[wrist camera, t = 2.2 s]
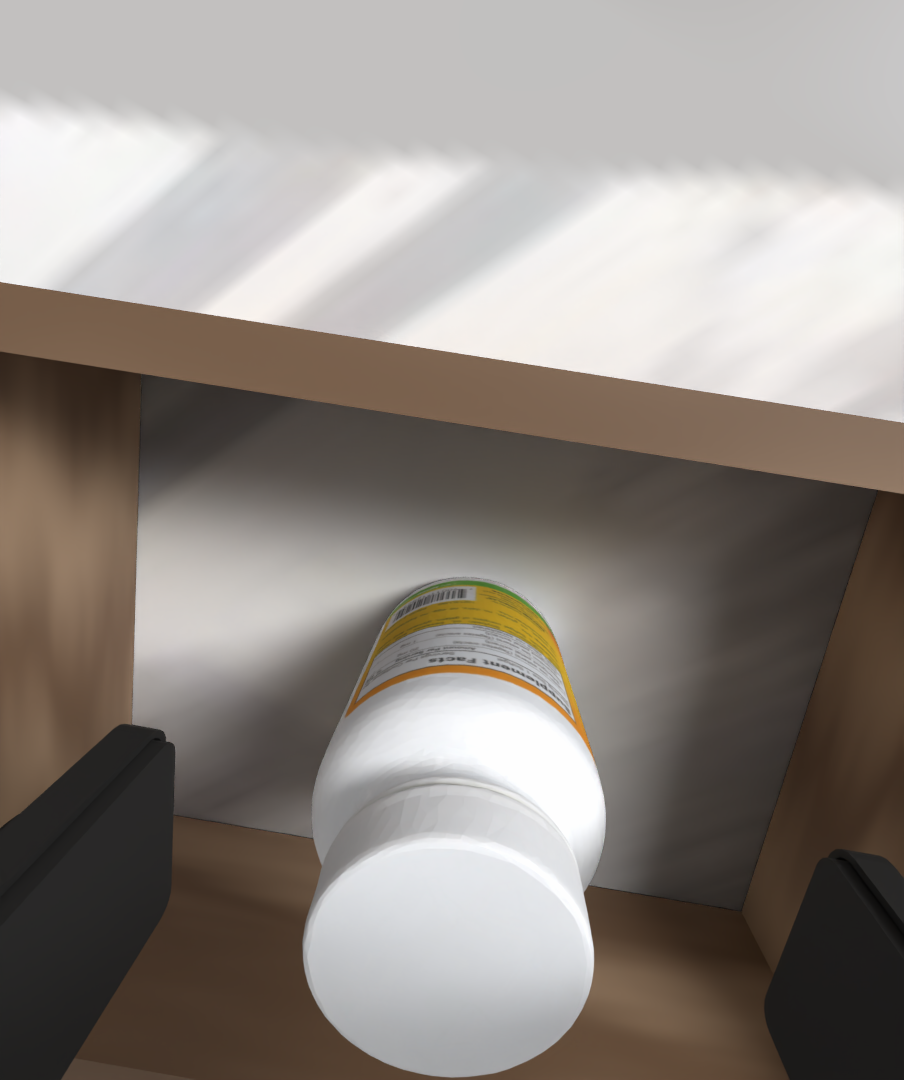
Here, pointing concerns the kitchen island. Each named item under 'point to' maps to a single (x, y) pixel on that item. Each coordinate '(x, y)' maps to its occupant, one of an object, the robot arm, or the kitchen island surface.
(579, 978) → the supplement bottle
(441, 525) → the kitchen island surface
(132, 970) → the box
